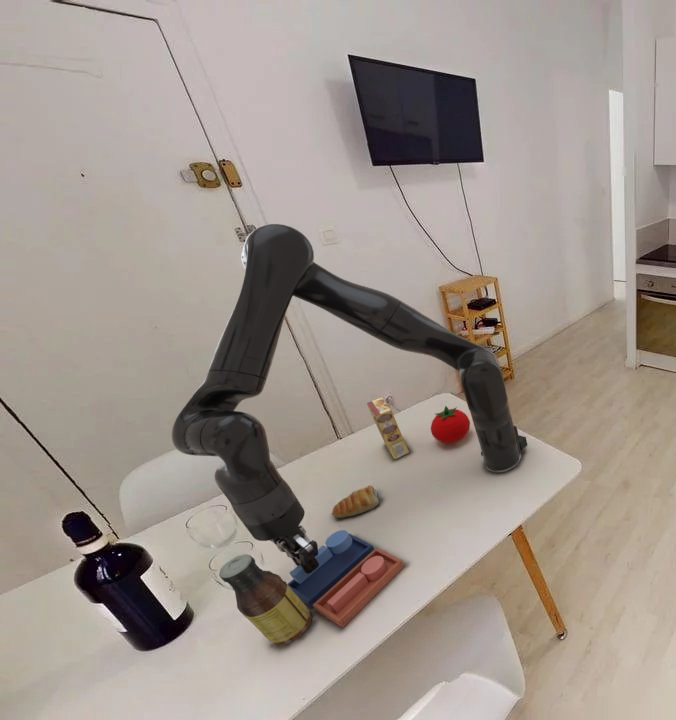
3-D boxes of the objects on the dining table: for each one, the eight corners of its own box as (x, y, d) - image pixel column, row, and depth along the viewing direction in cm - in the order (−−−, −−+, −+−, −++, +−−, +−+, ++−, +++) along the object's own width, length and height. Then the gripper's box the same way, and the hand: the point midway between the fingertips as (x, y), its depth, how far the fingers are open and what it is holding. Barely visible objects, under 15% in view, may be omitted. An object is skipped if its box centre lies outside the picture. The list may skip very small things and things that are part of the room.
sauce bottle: (286, 613, 77) (232, 545, 67) (321, 609, 78) (272, 542, 68) (261, 651, 72) (198, 584, 62) (299, 647, 72) (241, 580, 62)
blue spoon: (304, 586, 78) (297, 578, 76) (291, 578, 79) (285, 570, 78) (356, 541, 86) (352, 533, 85) (344, 534, 88) (339, 526, 86)
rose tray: (379, 553, 88) (376, 547, 87) (404, 566, 85) (401, 560, 84) (316, 611, 77) (312, 605, 76) (342, 628, 75) (338, 622, 74)
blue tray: (352, 539, 91) (349, 533, 90) (375, 551, 88) (372, 545, 87) (288, 592, 81) (283, 586, 80) (312, 608, 78) (307, 602, 77)
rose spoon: (341, 615, 76) (336, 608, 75) (328, 607, 77) (322, 599, 76) (391, 567, 84) (387, 559, 83) (378, 560, 86) (374, 552, 85)
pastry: (336, 526, 94) (329, 515, 92) (333, 508, 99) (326, 497, 97) (381, 505, 99) (375, 494, 97) (376, 489, 104) (371, 478, 102)
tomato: (436, 454, 115) (426, 426, 110) (435, 433, 123) (425, 406, 118) (475, 443, 118) (466, 415, 113) (471, 423, 127) (463, 397, 122)
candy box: (410, 453, 116) (392, 409, 108) (394, 460, 113) (374, 416, 106) (400, 438, 121) (382, 396, 114) (384, 445, 119) (365, 402, 111)
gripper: (221, 509, 71) (268, 570, 80) (266, 536, 66) (311, 598, 75) (269, 480, 77) (308, 540, 86) (314, 502, 72) (350, 563, 81)
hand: (309, 567), depth 80 cm, fingers closed on blue spoon, 1 cm apart
